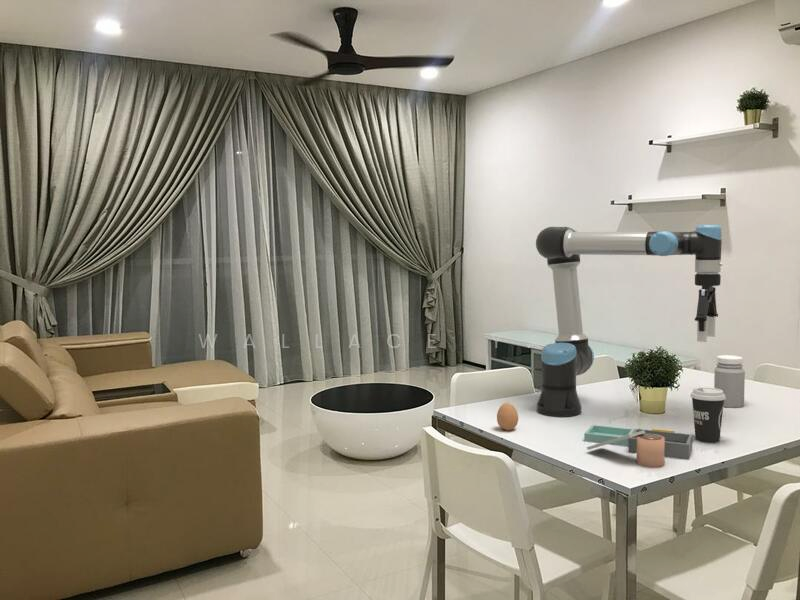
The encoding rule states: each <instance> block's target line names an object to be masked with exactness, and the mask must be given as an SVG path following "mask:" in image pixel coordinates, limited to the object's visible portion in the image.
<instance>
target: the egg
mask: <svg viewBox="0 0 800 600" xmlns="http://www.w3.org/2000/svg"><path fill="white" fill-rule="evenodd" d="M496 422H497V425H498V426H499V428H501V430H503V429H505V430H504V431H506V430H510V431H512V430H514V429H515V428H516V427H517V426H518V423H519V414H518V411H517V409H516V407H515V405H514V404H512V403H510V402H505V403H503V404H501V405H500V407H499V408H498V410H497V413H496Z"/></svg>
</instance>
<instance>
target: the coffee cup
mask: <svg viewBox="0 0 800 600" xmlns="http://www.w3.org/2000/svg"><path fill="white" fill-rule="evenodd" d="M689 396H690V398H691V401H692V412H693V413H692V414H693V426H694V437H695V440H696V441H697V442H701V443H705V444H706V443H707V444H716V443H719V442H720V440H721V431H722V430H721V429H722V422H723V421H722V420H723V411H724V407H723V405H724V400H725V399H726V396H725V394H724V393H723V391H722V390H720V389H716V388H714V387H708V386H707V387H706V386H705V387H704V386H703V387H695V388H693V389H692V391H691V393H690V395H689Z"/></svg>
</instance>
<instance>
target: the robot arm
mask: <svg viewBox="0 0 800 600" xmlns="http://www.w3.org/2000/svg"><path fill="white" fill-rule="evenodd" d="M722 242H723V238H722V227H721V226H720V225H718V224H704V225H703V224H700V225H697V226H696V227H695V230H694V231H668V230H661V231H577V230H576V229H574V228H571V227H568V226H548V227H545V228H544V229H542V230H541V231H540V232H539V233H538V235H537V236H536V240H535V248H536V251H537V252H538V253H539V255H541V257H543V258H544V259H546V262H547V267H548V268H550V269H551V270H552V279H553V280H552V281H553V288H554V289H553V290H554V300H555V308H556V309H555V310H556V318H557V319H556V320H557V329H558V336H557V337H556V338H555V339H554V343H550V344H545V346H543V347H542V349H541V355H540V358H541V360H540V361H541V391H540V394H539V397H538V400H537V403H536V412H537V411H538V412H539V414H541V415H544V416H549V417H550V416H551V417H573V416H579V415H581V414H582V404H581V402H580V398H579V396H578V395H579V394H578V392H577V376H581V375H583V374H585V373H587V371H588V370H590V369H591V367H592V366H593V363H594V361H595V356H594V351H593V349H592V347H591V346H590V345H589V337H588V336H587V335H586V334H585V333H584V332H583V320H582V310H581V300H580V299H581V298H580V291H579V290H580V289H579V280H578V269H577V268H578V266H579V264H581V255H589V256H590V255H593V256H594V255H597V256H598V255H600V256H601V255H603V256H604V255H605V256H607V255H609V256H622V255H623V256H659V257H668V256H679V255H680V256H684V255H685V256H686V255H689V256H693V255H694V256H695V260H694V272H695V274H694V285H695V286H701V289H698V301H697V307H696V308H697V309H696V316H695V317H694V322H697V324H696V325H697V326H696V327H697V329H696V331H697V332H696V341H697V342H701V343H703V342H704V343H707V342H708V337H713V338H714V337H716V318H718V317H719V313H718V311H717V299H716V297H717V296H716V289H717V288H716V287H720V286H721V278H722V277H721V274H720V272H721V270H722V269H721V267H722V266H724V264H723V262H721V261H722V244H723V243H722ZM538 412H537V413H538Z"/></svg>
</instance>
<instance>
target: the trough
mask: <svg viewBox="0 0 800 600" xmlns="http://www.w3.org/2000/svg"><path fill="white" fill-rule="evenodd" d="M634 429H635V428H626V427H619V426H618V427H617V426H608V425H607V426H606V425H597V424H592V425H590V427H588V429H587V430H586V431H585V432H584V433H583V434H584V436H583V437H584V439H583V441H584V442H589V443H595V444H599V443H602V442H606V441H609V440H612V439H616V438H619V437H622V436H626V435H629V434H632V432H633V431H634ZM609 445H613V446H620V447H627V448H629V438H627V439H624V440H620V441H617V442H614V443H610V444H609Z"/></svg>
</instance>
